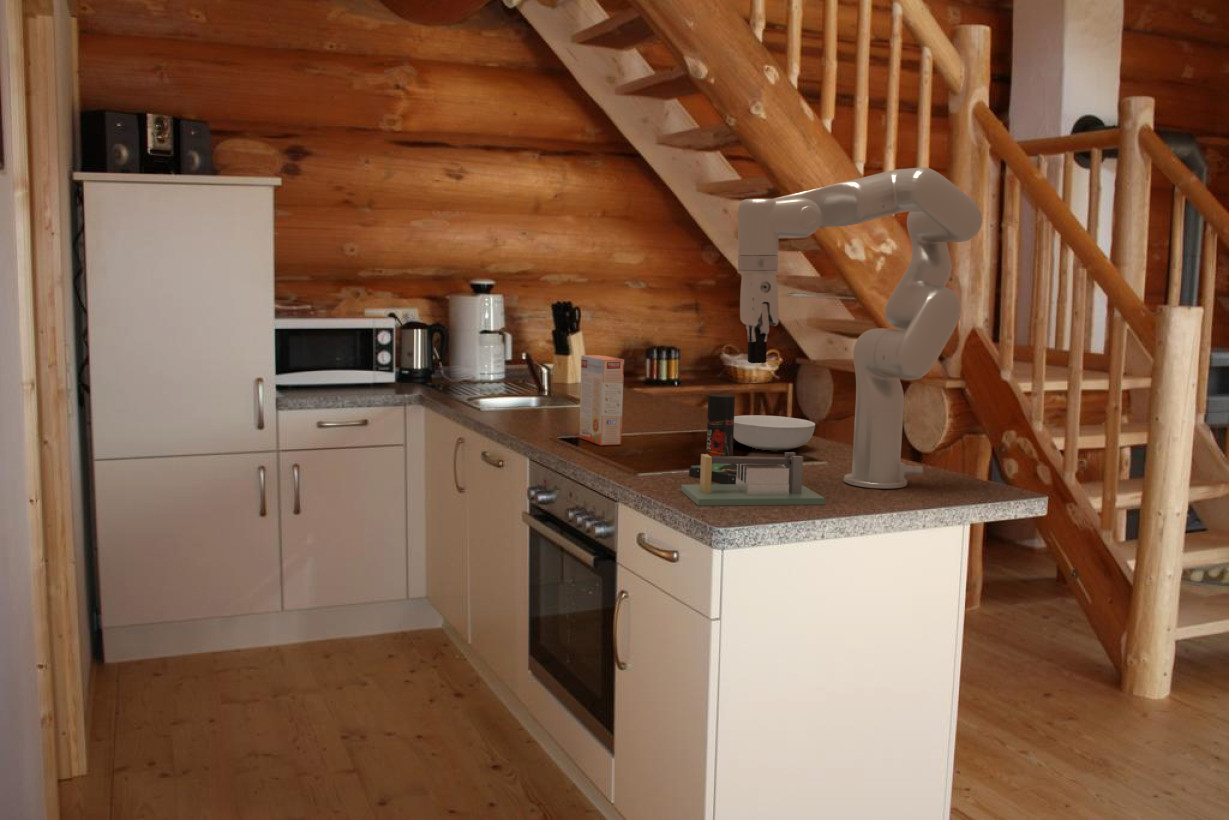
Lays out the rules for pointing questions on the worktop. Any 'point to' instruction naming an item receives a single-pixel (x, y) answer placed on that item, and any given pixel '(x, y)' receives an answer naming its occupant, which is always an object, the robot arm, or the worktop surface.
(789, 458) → the strap
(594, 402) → the cracker box
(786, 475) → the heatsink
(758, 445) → the serving bowl
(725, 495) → the board
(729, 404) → the deodorant
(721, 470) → the disk drive
